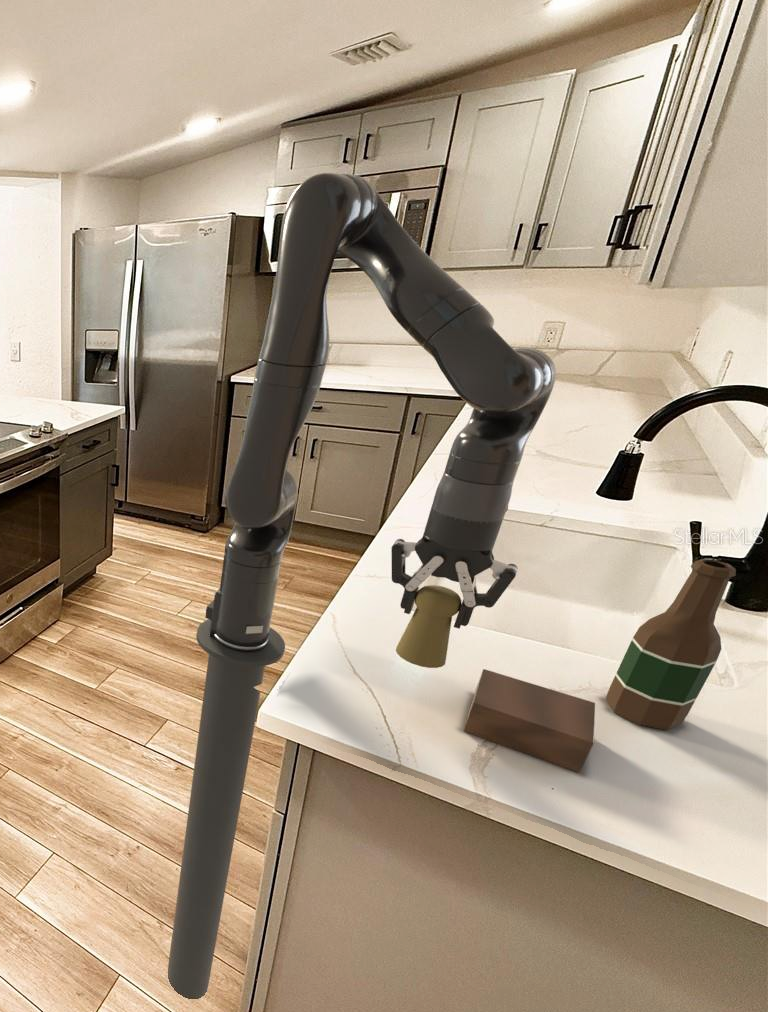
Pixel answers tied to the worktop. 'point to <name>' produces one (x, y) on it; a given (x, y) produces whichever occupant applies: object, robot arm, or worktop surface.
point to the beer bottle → (672, 653)
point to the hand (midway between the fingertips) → (432, 618)
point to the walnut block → (532, 719)
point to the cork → (429, 627)
